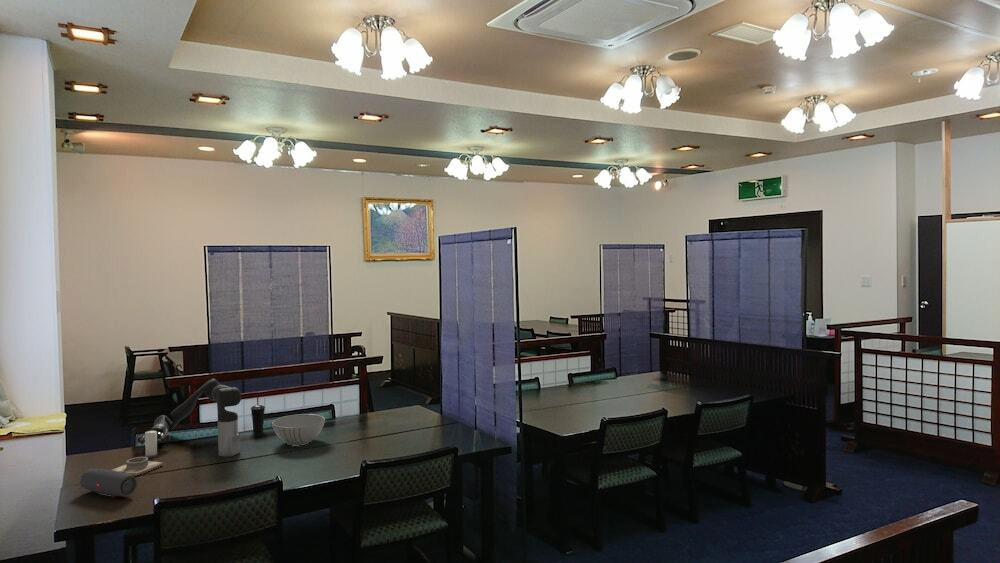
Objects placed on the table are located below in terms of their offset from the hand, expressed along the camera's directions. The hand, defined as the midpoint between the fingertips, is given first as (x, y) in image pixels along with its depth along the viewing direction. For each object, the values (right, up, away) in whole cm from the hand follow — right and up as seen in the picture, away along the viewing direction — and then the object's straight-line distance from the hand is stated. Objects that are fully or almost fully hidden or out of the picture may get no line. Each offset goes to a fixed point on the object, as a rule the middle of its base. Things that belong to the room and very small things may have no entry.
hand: (151, 441), depth 311 cm
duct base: (+6, -8, -22) cm, 24 cm away
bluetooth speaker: (+11, -9, -52) cm, 54 cm away
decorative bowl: (+68, -6, +19) cm, 71 cm away
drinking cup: (+38, -5, +41) cm, 56 cm away
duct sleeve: (+2, -7, -3) cm, 7 cm away
